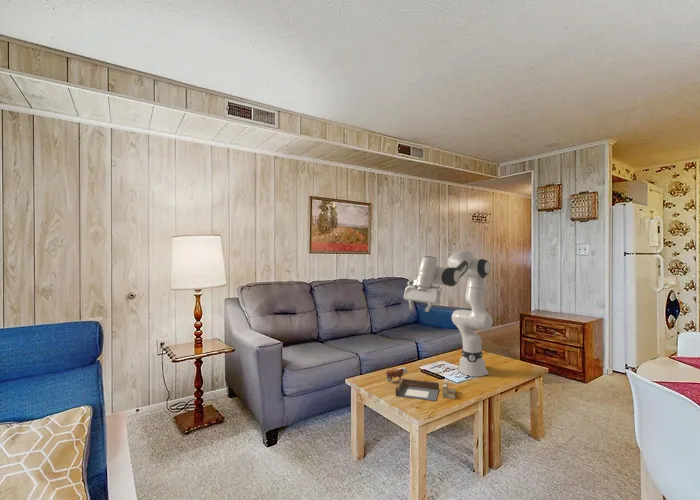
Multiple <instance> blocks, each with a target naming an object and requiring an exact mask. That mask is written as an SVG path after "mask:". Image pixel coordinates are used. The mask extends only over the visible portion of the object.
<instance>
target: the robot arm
mask: <svg viewBox="0 0 700 500" xmlns="http://www.w3.org/2000/svg"><path fill="white" fill-rule="evenodd" d="M447 266H448V267H443V266H442V267H441V266H439V264H438V257H435V256H429V255H428V256H423V257H422V259H421V261H420V264H419V268H418V275H417V277H416V279H414V280H410V281H407V286H406V287H405V288H404V289H405V290H404V294H403V300H406V301H408V304H409V308H408V309H410V310H414V305H413V303H414V302H415V303H423V304H427V307H424V312H425V313H429V312H430V309H431V308H432V307H433V305H439V304H440V302H441V293H442V288H441V287H440V286H448V287H455V286H456V285H457V284H458V283H459V281H460V279H461V278H462V277H463V276H465V277H468V278H467V283H466V289H465V295H464V299H465V302H466V304H469V306H470V307H471V310H468V309H455V310H453V312H452V314H451V321H452V323H453V325H455V326H456V328H457V329H458V331H459V332H460V336H461V342H462V349H461V355H462V356H461V357H460V358H459V366H458V368H457V369H456V372H457V371H458V373H460V372H461V374H462V373H463V374H462V375H464V374H465V375H464V376H467V375H469V376H468V377H472V376H473V377H475V378H476V377H478V378H479V377H483V376H487V375H489V371H488V370H487V368H486V361H485V359H484V358H483V350H482V338H481V337H480V336H479V334H477V333H476V332H475V330H478V331H487V330H488V331H489V330H490V329H491V328H492V326H493V322H494V321H493V317H492V315H491V314H490V313H488V311H487V310H486V309H487V308H486V306H485V301H484V300H485V288H486V277H487V276H488V275H489V273H490V271H491V264H490V262H489V261H488V260H487V259H485V258H475V257H474V254H473V252H472V251H470V250H468V249H463V250H459V251H456V252H454V253H452V255H449V257H448V259H447ZM435 285H436V286H435ZM438 285H439V286H438Z"/></svg>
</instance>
